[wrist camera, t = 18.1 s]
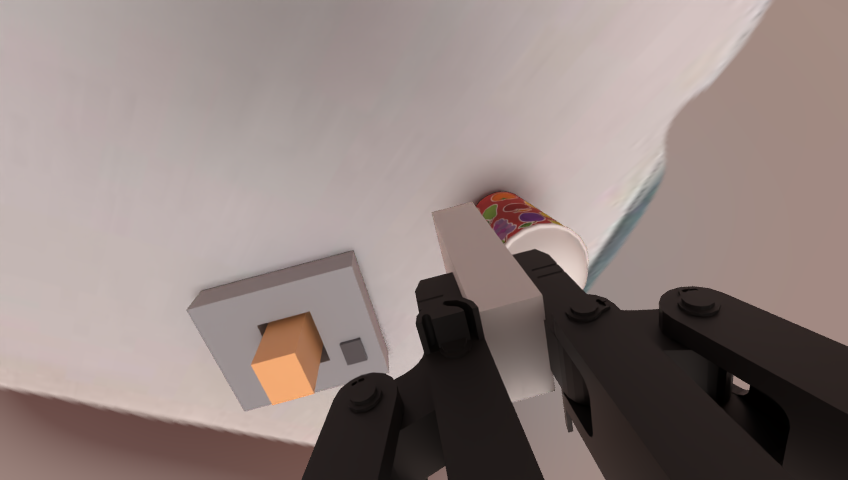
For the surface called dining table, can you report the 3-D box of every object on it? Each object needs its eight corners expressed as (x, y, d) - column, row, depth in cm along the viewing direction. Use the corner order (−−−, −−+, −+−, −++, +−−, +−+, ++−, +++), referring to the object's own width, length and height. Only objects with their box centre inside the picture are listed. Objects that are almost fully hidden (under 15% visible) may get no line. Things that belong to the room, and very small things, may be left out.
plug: (274, 308, 48) (250, 365, 39) (309, 299, 48) (294, 352, 39) (290, 344, 50) (272, 405, 41) (325, 334, 50) (314, 393, 41)
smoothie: (500, 261, 49) (576, 374, 31) (446, 226, 46) (494, 328, 28) (545, 206, 47) (655, 293, 29) (491, 167, 44) (574, 234, 26)
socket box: (201, 291, 46) (184, 312, 42) (353, 250, 46) (351, 268, 42) (253, 387, 52) (243, 414, 48) (388, 351, 52) (389, 375, 48)
